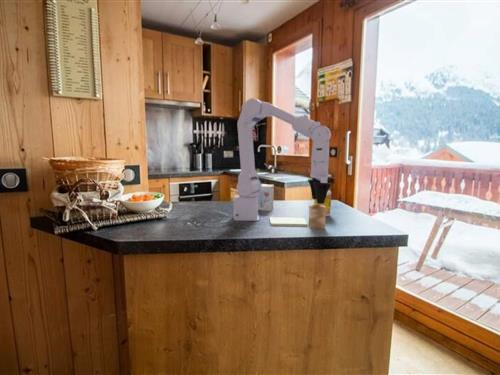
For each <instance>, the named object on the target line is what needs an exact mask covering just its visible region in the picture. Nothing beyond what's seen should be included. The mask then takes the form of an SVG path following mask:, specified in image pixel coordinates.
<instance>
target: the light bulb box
mask: <svg viewBox="0 0 500 375" xmlns="http://www.w3.org/2000/svg"><path fill="white" fill-rule="evenodd" d="M274 186H275V184H267V183H261V188H260V190H259V191H258V211H267V212H270V211H272V210H273V209H274V197H275V196H274V189H275V188H274Z"/></svg>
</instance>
